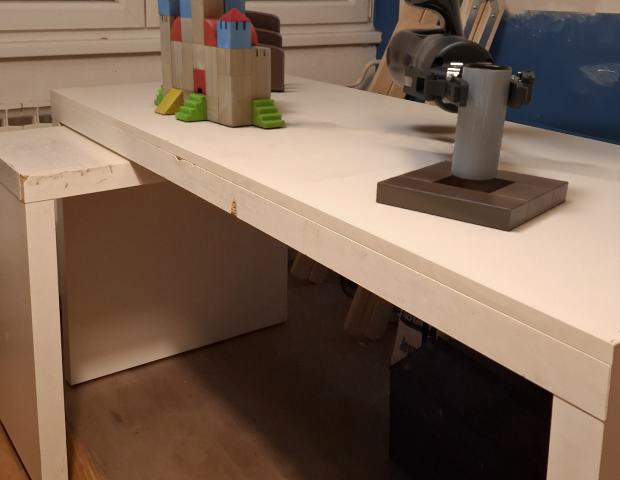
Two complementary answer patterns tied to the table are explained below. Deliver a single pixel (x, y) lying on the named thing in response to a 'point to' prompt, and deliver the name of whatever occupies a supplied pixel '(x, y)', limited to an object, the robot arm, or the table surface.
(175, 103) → the block set
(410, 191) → the socket pad
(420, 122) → the table surface
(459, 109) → the grey cylinder peg
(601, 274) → the table surface
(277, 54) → the letter holder
